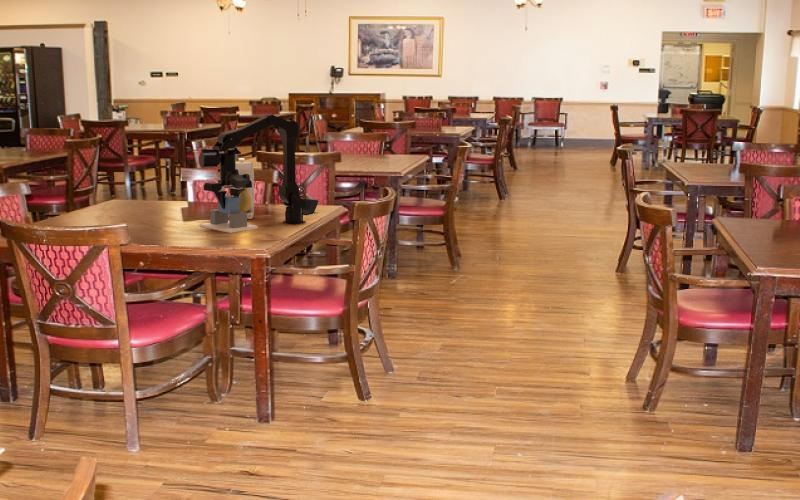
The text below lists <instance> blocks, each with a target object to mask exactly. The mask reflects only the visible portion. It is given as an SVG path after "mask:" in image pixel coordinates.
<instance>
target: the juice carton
mask: <svg viewBox="0 0 800 500" xmlns="http://www.w3.org/2000/svg"><path fill="white" fill-rule="evenodd" d="M236 169H238V173H239V175H243V174H248V175H249V176H250V180H251V182H252V188H243V189H245V190H244V191H242V192H241V193H240V195H239V197H243V199H239V212H246V213H247V220H252V219H253V218H254V212H255V171H254V164H253V161H251V160H246V158H244V157H243V158H242V157H241V158H240V157H239V158H238V160H236ZM230 188H232V187H230Z"/></svg>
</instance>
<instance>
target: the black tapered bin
mask: <svg viewBox="0 0 800 500" xmlns="http://www.w3.org/2000/svg"><path fill="white" fill-rule="evenodd" d="M302 199H303V200H304V201H305V202H306V204H305V208H303V216H309V214H310V215H313V213H314V214H315V211H316V208H317V206H318V204H319V200H318V199H309V198H302Z"/></svg>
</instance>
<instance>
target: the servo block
mask: <svg viewBox="0 0 800 500" xmlns="http://www.w3.org/2000/svg"><path fill="white" fill-rule="evenodd" d="M214 197H215V198H217V197H216V195H215V194H214ZM239 199H243V197H238V196H233V195H230V194H225V209H222V207H221V205H220V203H219V201H218V200H217V209H218V212H222V213H228V215H229V213H236V212H239Z"/></svg>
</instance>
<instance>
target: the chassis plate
mask: <svg viewBox="0 0 800 500" xmlns="http://www.w3.org/2000/svg"><path fill="white" fill-rule="evenodd" d="M209 212H210V214H209V215H210V219H209V220H210V221H209V222H205V223H199V227H200V228H204V229H210V230H214V231H220V232H224V233H230V234H232V233H238V232H245V231H252V230H257V229H259V227H258V225H255V224H250V223H249V224H248V219H247V213H246V212H236V213H229V214H228V213H222V212H218V208H217V209H216V208H214V209H210V210H209Z"/></svg>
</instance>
